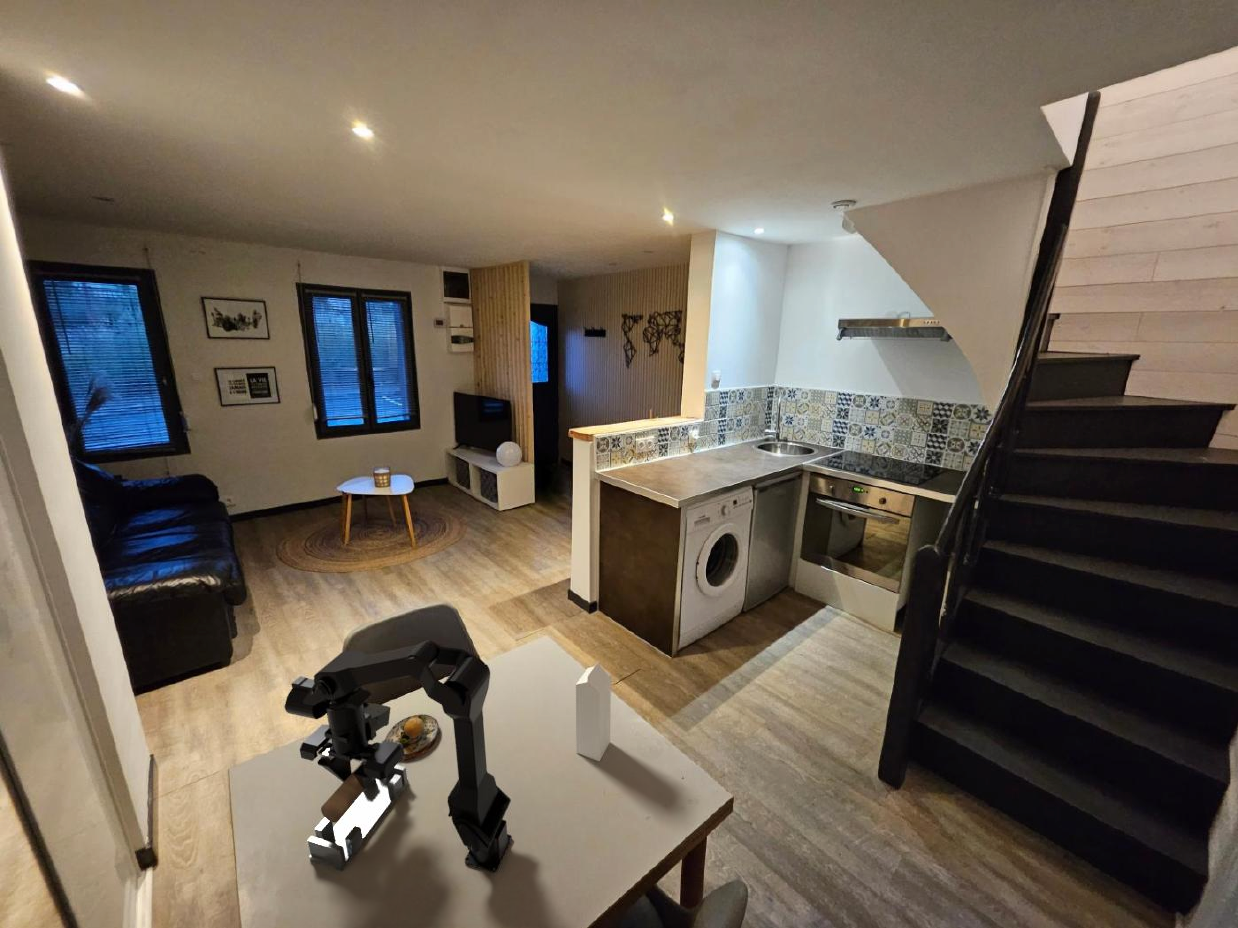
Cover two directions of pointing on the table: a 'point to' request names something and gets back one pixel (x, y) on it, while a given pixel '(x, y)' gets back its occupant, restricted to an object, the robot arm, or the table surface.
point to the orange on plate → (415, 734)
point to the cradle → (356, 822)
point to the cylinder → (342, 798)
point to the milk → (593, 712)
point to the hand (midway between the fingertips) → (358, 784)
